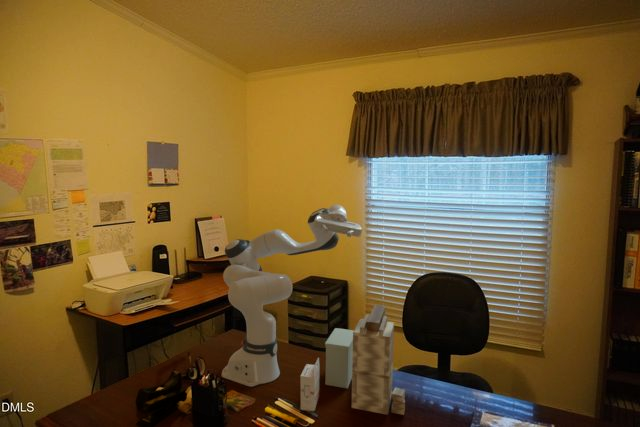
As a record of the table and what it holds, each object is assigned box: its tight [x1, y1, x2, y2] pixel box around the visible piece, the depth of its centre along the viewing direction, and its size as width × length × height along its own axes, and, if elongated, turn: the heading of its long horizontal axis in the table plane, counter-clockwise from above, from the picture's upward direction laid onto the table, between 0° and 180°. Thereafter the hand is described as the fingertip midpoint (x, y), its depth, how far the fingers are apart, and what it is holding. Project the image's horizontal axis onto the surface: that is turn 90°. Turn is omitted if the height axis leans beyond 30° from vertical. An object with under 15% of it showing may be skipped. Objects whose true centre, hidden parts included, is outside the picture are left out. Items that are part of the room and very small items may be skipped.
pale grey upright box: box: [324, 327, 355, 389], centre depth 140 cm, size 9×15×16 cm, turn 163°
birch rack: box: [351, 313, 395, 416], centre depth 125 cm, size 12×13×28 cm
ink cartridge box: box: [299, 357, 321, 412], centre depth 123 cm, size 9×5×15 cm, turn 168°
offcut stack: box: [391, 387, 406, 416], centre depth 120 cm, size 4×5×6 cm
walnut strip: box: [367, 304, 387, 332], centre depth 129 cm, size 4×18×3 cm, turn 163°
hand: (337, 233), depth 145 cm, fingers open, 8 cm apart
